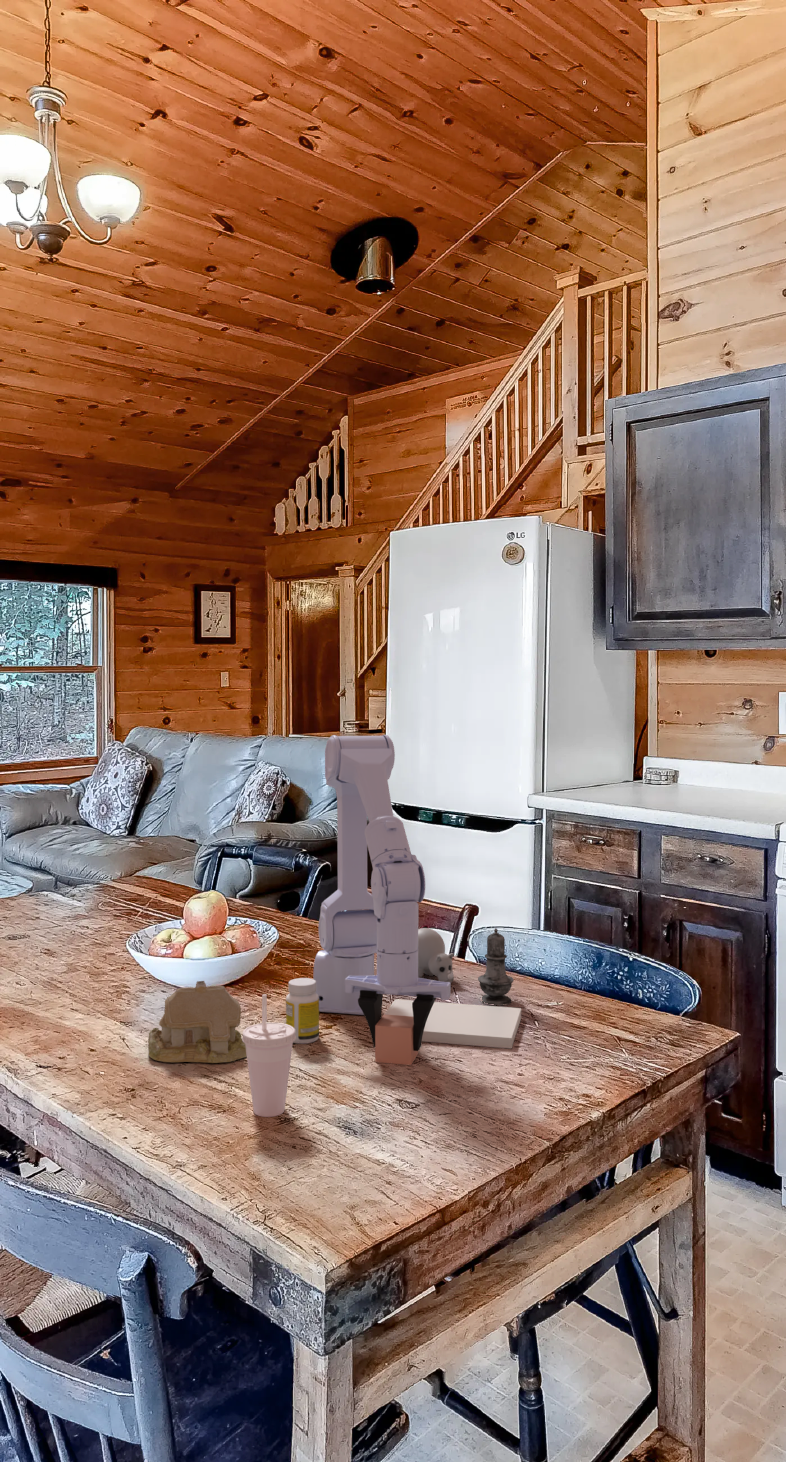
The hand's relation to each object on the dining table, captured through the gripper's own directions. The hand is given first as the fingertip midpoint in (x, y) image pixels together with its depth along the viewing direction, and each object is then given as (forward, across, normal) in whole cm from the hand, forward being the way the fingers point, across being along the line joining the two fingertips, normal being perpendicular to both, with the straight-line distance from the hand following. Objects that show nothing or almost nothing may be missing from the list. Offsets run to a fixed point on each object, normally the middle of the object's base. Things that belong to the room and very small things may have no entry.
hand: (397, 1046), depth 138 cm
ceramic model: (+2, -27, -4) cm, 28 cm away
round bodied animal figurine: (+2, -3, +39) cm, 39 cm away
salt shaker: (+2, +10, +29) cm, 31 cm away
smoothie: (+2, -11, -21) cm, 24 cm away
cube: (+1, 0, 0) cm, 1 cm away
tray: (+1, +5, +14) cm, 15 cm away
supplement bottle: (+2, -15, +4) cm, 16 cm away
